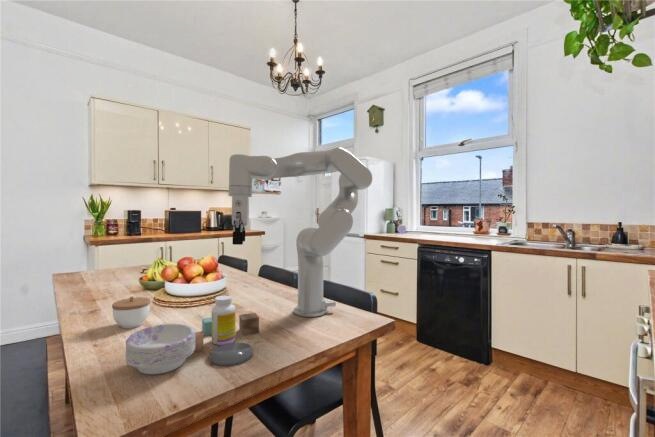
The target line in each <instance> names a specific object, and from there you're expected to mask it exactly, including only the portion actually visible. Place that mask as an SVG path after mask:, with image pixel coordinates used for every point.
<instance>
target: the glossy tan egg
mask: <svg viewBox="0 0 655 437" xmlns="http://www.w3.org/2000/svg"><path fill="white" fill-rule="evenodd" d="M195 332H196V333H195V350H194V352H193V353H199V352H201V351H203V350H204V333H203V331H202V332H201V331H195Z"/></svg>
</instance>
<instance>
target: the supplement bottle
mask: <svg viewBox="0 0 655 437" xmlns="http://www.w3.org/2000/svg"><path fill="white" fill-rule="evenodd" d="M232 301H233V297H232V296H231V295H220V296H216V297H215V298H214V303H215V305H214V306H213V307H212V308H211V317H212V334H211V342H212V343H213V344H214V345H217V346H220V345H223V344H227V343H234V341H235V340H236V335H237V333H236V328H237V327H236V326H237V325H236V307H235V305H233V304H232Z"/></svg>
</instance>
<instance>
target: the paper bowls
mask: <svg viewBox="0 0 655 437" xmlns="http://www.w3.org/2000/svg"><path fill="white" fill-rule="evenodd" d="M196 332H197V331H196V329H195V328H194V327H193V326H191V325H190V324H189V325H188V324H185V323H172V322H171V323H162V324H156V325H152V326H148V327H145V328H141V329H139V330H137V331H134V332H133V333H131V334H130V335H129V336H128V337H127V339H126V340H125V362H126V363H127V365H128V366H130V367H132V368H136V369H137V370H138V371H139V372H140V373H142V374H145V375H162V374H166V373H168V372H169V373H170V372H171V371H174V370H176V369H178V368H179V367H180V366H182V365H183V364H184V363H185V362H186V359H187V358H188V357H190V356H191V355H192V354H193V353H195V352H194V350H195V333H196Z"/></svg>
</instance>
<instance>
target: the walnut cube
mask: <svg viewBox="0 0 655 437" xmlns="http://www.w3.org/2000/svg"><path fill="white" fill-rule="evenodd" d="M238 318H239V322H238V323H239V325H238V326H239V328H238V330H239V332H240V334H241V335H242V337H244V336H250V335H255V334H259V333H260V317H259V315H257V313H256V312H251V313H243V314H239V317H238Z"/></svg>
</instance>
